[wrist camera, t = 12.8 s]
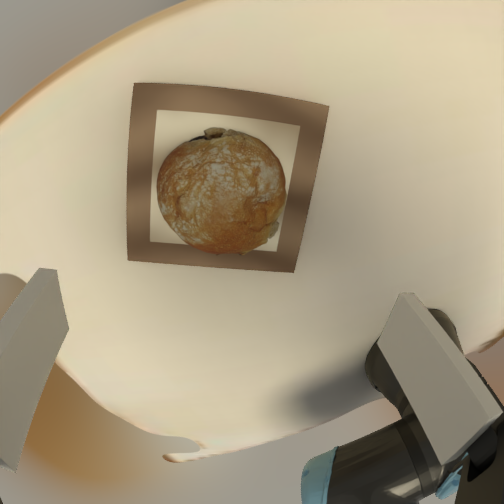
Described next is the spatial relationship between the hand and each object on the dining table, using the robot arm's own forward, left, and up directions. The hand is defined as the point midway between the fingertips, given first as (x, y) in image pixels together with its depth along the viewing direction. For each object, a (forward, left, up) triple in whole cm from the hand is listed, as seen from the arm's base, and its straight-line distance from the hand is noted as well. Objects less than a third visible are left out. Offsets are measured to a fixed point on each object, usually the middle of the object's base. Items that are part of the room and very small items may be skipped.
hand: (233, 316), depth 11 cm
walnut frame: (0, 0, -18) cm, 19 cm away
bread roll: (0, 0, -17) cm, 17 cm away
